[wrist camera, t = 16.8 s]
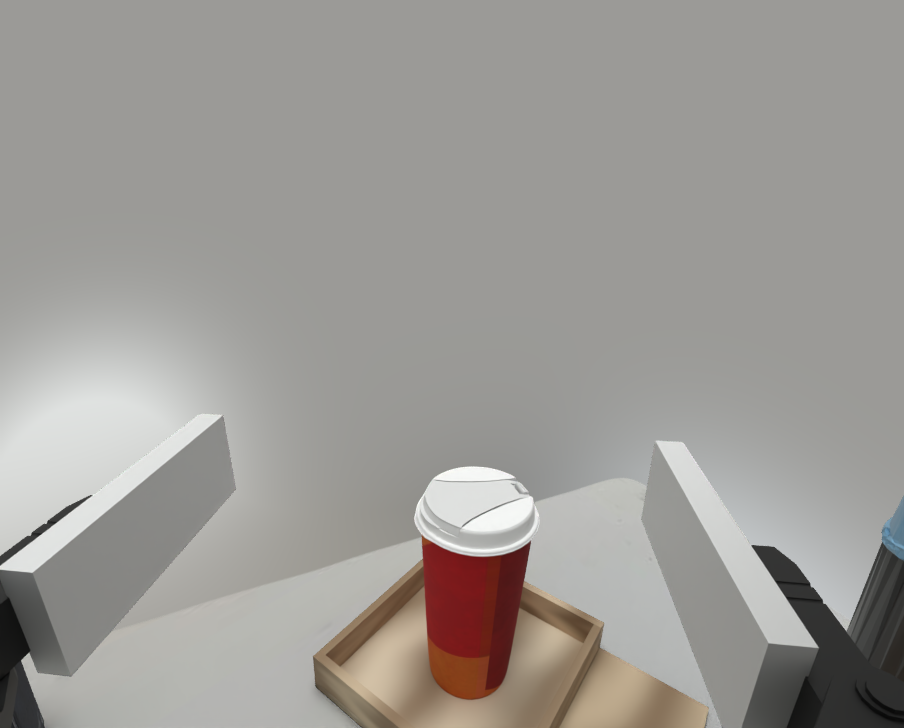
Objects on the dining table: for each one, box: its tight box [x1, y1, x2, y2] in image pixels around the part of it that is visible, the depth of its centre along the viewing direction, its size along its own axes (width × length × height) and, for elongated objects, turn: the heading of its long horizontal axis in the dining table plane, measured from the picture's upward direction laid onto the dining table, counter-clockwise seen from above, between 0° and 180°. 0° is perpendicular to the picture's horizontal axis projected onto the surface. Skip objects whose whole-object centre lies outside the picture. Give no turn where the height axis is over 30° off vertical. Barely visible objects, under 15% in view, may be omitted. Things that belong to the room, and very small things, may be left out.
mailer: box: [313, 559, 709, 728], centre depth 35 cm, size 24×16×3 cm, turn 54°
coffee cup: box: [414, 467, 539, 700], centre depth 35 cm, size 8×8×15 cm
